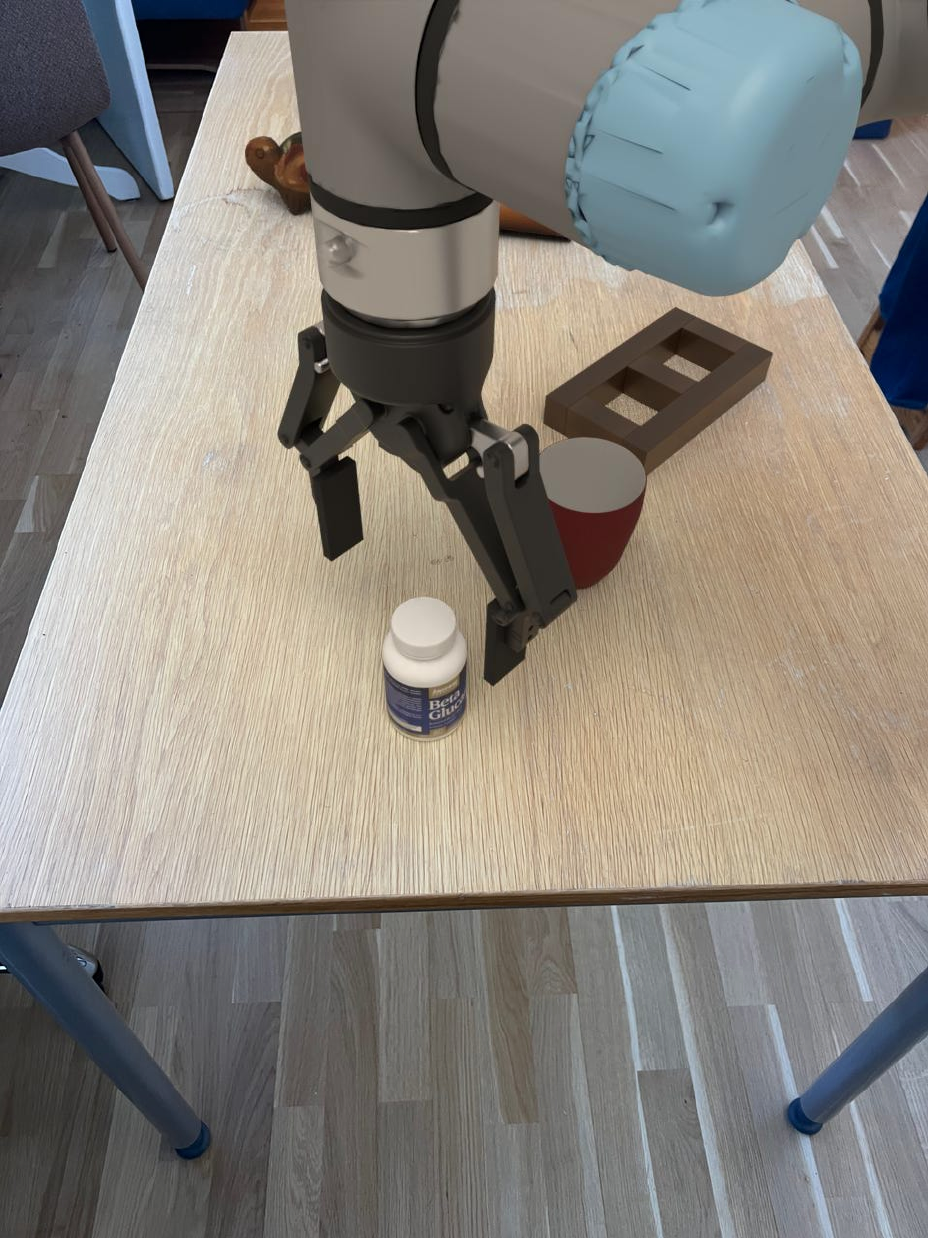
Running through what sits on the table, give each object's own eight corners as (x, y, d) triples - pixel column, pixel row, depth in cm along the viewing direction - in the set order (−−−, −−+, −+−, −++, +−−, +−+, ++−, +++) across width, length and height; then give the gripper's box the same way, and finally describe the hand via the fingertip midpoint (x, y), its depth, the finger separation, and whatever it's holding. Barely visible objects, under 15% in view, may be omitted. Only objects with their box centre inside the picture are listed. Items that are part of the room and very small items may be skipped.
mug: (553, 645, 68) (565, 549, 61) (478, 583, 72) (481, 486, 65) (649, 574, 73) (671, 477, 65) (574, 519, 77) (587, 421, 69)
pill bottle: (437, 757, 62) (435, 669, 55) (372, 720, 64) (360, 630, 57) (481, 701, 65) (484, 610, 58) (417, 667, 67) (412, 575, 60)
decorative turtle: (244, 193, 112) (236, 120, 106) (368, 183, 116) (367, 113, 110) (258, 228, 105) (250, 153, 100) (389, 217, 109) (389, 144, 104)
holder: (765, 379, 89) (773, 352, 87) (641, 480, 80) (647, 452, 78) (670, 333, 94) (675, 306, 92) (542, 422, 85) (545, 395, 82)
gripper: (161, 209, 44) (240, 533, 60) (581, 462, 33) (536, 771, 49) (287, 156, 47) (329, 475, 63) (703, 369, 36) (624, 686, 53)
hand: (419, 605), depth 56 cm, fingers open, 13 cm apart
